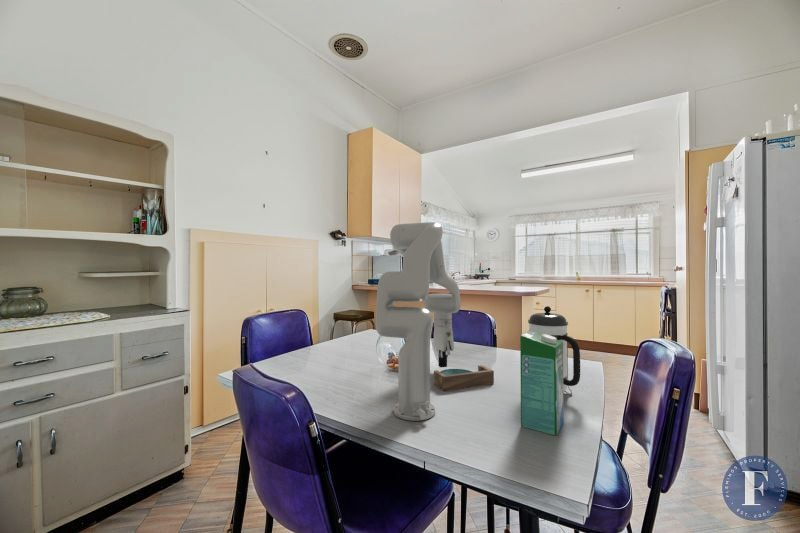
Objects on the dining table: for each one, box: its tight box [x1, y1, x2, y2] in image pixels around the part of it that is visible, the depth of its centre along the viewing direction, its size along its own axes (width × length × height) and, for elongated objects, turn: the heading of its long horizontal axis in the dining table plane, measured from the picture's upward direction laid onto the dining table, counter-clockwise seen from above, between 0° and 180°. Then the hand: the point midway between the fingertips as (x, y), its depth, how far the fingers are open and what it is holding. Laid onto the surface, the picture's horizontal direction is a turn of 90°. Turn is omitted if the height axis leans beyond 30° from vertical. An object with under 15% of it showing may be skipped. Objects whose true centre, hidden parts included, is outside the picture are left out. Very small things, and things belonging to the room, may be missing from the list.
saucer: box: [439, 368, 474, 375], centre depth 129 cm, size 15×15×3 cm
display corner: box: [433, 364, 495, 392], centre depth 124 cm, size 8×21×5 cm, turn 111°
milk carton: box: [519, 330, 565, 436], centre depth 92 cm, size 9×9×25 cm
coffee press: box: [527, 306, 581, 396], centre depth 115 cm, size 17×16×30 cm
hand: (442, 366), depth 139 cm, fingers closed
